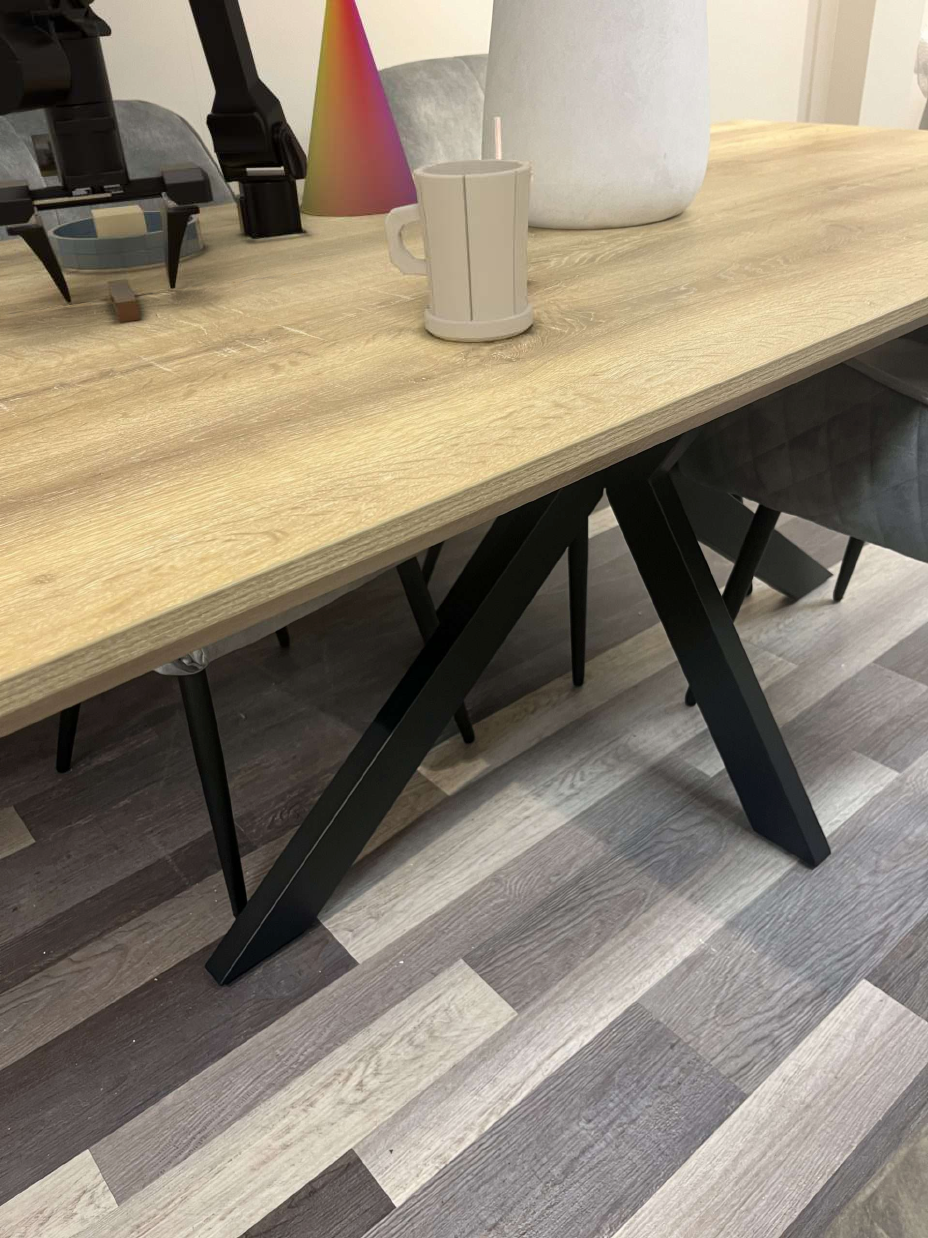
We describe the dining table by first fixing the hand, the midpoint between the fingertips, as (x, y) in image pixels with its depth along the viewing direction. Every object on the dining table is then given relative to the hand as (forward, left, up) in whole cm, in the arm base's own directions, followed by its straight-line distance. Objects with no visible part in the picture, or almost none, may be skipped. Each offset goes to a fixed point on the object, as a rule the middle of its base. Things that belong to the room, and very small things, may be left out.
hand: (121, 294), depth 91 cm
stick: (0, 0, -1) cm, 1 cm away
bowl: (-3, -25, -1) cm, 25 cm away
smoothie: (-33, +11, -2) cm, 35 cm away
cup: (-25, +23, -2) cm, 34 cm away
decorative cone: (-35, -41, -2) cm, 54 cm away
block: (-2, -21, -1) cm, 21 cm away
